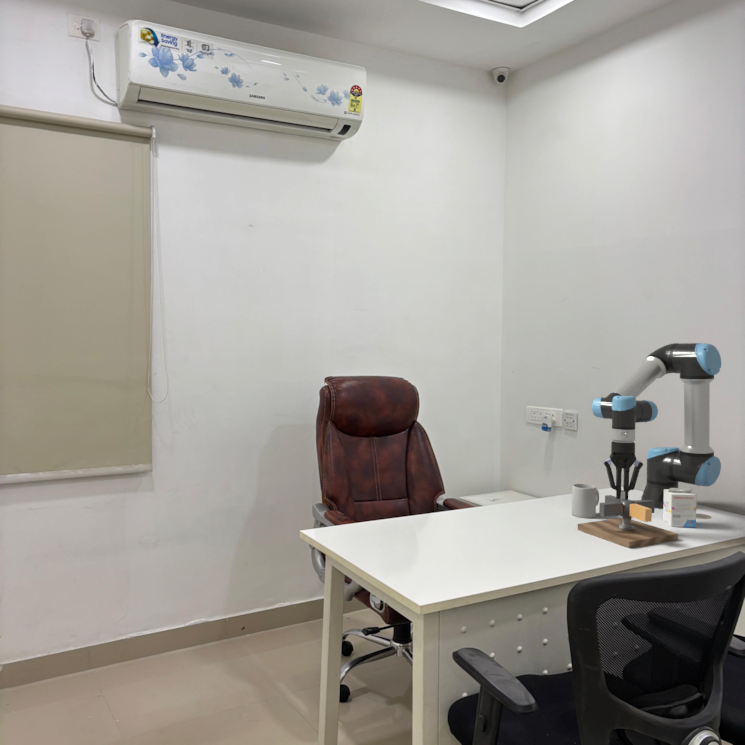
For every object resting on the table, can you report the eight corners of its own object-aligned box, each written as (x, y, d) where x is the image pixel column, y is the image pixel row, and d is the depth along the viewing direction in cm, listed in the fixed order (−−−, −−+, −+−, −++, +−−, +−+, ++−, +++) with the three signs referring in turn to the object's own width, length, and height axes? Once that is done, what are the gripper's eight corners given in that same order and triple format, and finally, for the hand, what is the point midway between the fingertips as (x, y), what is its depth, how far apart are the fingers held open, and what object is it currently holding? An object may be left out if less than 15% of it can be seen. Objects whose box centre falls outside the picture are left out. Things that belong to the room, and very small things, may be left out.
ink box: (686, 521, 230) (688, 484, 229) (696, 528, 222) (697, 489, 221) (662, 520, 231) (663, 484, 230) (670, 527, 222) (671, 489, 222)
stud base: (624, 522, 227) (624, 506, 227) (677, 539, 207) (678, 521, 207) (577, 529, 217) (577, 512, 217) (629, 548, 197) (629, 528, 197)
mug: (584, 519, 231) (585, 489, 231) (566, 514, 238) (567, 484, 238) (607, 515, 237) (607, 486, 237) (588, 510, 244) (589, 482, 244)
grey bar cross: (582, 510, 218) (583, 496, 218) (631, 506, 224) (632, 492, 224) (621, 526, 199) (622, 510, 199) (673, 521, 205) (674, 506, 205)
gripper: (605, 442, 214) (604, 511, 214) (646, 443, 212) (644, 513, 212) (601, 439, 221) (600, 506, 222) (640, 440, 219) (638, 508, 220)
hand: (621, 509), depth 217 cm, fingers closed
